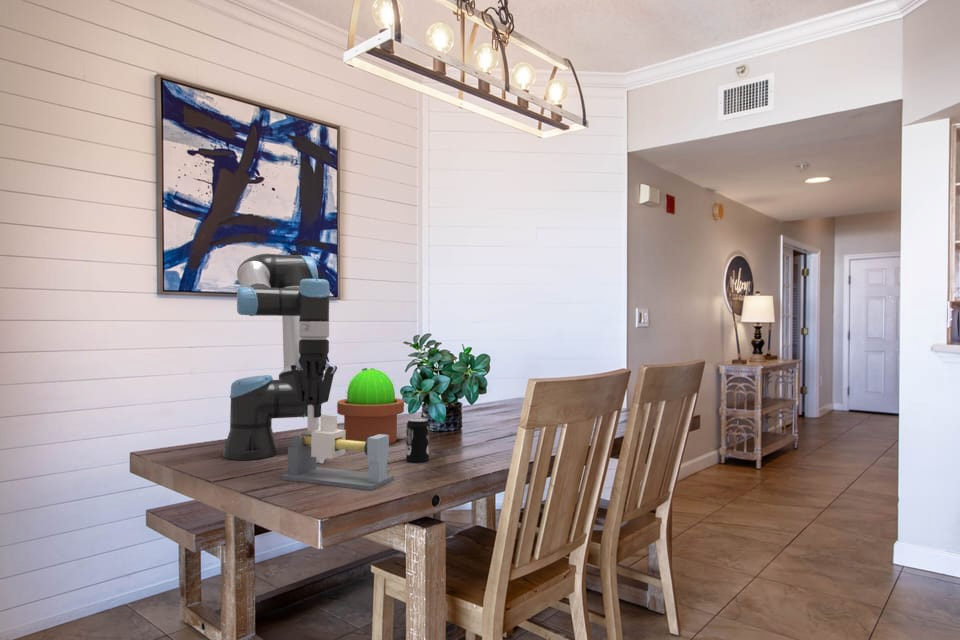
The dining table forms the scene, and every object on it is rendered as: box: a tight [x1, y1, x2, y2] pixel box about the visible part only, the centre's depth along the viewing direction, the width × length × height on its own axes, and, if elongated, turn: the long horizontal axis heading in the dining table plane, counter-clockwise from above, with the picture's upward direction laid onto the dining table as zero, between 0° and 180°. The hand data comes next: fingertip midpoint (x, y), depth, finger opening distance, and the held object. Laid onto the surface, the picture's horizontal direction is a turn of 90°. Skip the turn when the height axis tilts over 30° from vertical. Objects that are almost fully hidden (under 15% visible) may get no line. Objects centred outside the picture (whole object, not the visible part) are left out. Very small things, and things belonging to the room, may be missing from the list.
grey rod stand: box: [281, 432, 395, 491], centre depth 155 cm, size 26×11×12 cm, turn 69°
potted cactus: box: [336, 367, 405, 445], centre depth 204 cm, size 22×22×25 cm
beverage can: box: [405, 417, 430, 464], centre depth 177 cm, size 7×7×12 cm
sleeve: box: [311, 414, 346, 460], centre depth 156 cm, size 6×6×10 cm
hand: (313, 429), depth 157 cm, fingers closed
